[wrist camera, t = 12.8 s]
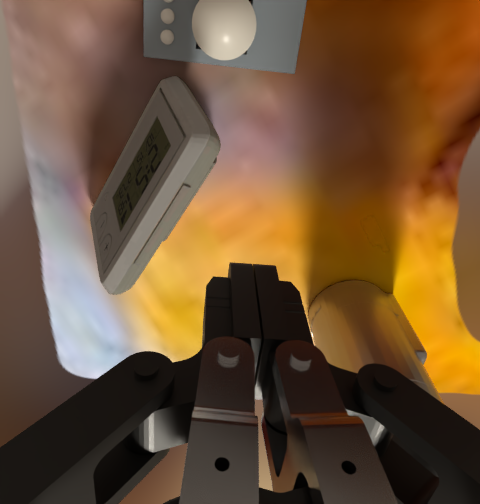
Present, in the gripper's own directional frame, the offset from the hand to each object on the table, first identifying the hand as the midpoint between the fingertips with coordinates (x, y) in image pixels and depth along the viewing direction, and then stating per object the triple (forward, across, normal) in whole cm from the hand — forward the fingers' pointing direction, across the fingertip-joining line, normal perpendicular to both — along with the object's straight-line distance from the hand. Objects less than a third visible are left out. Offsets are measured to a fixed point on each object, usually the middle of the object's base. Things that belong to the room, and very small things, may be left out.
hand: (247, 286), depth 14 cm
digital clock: (+27, +6, +6) cm, 29 cm away
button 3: (+27, +1, -6) cm, 27 cm away
